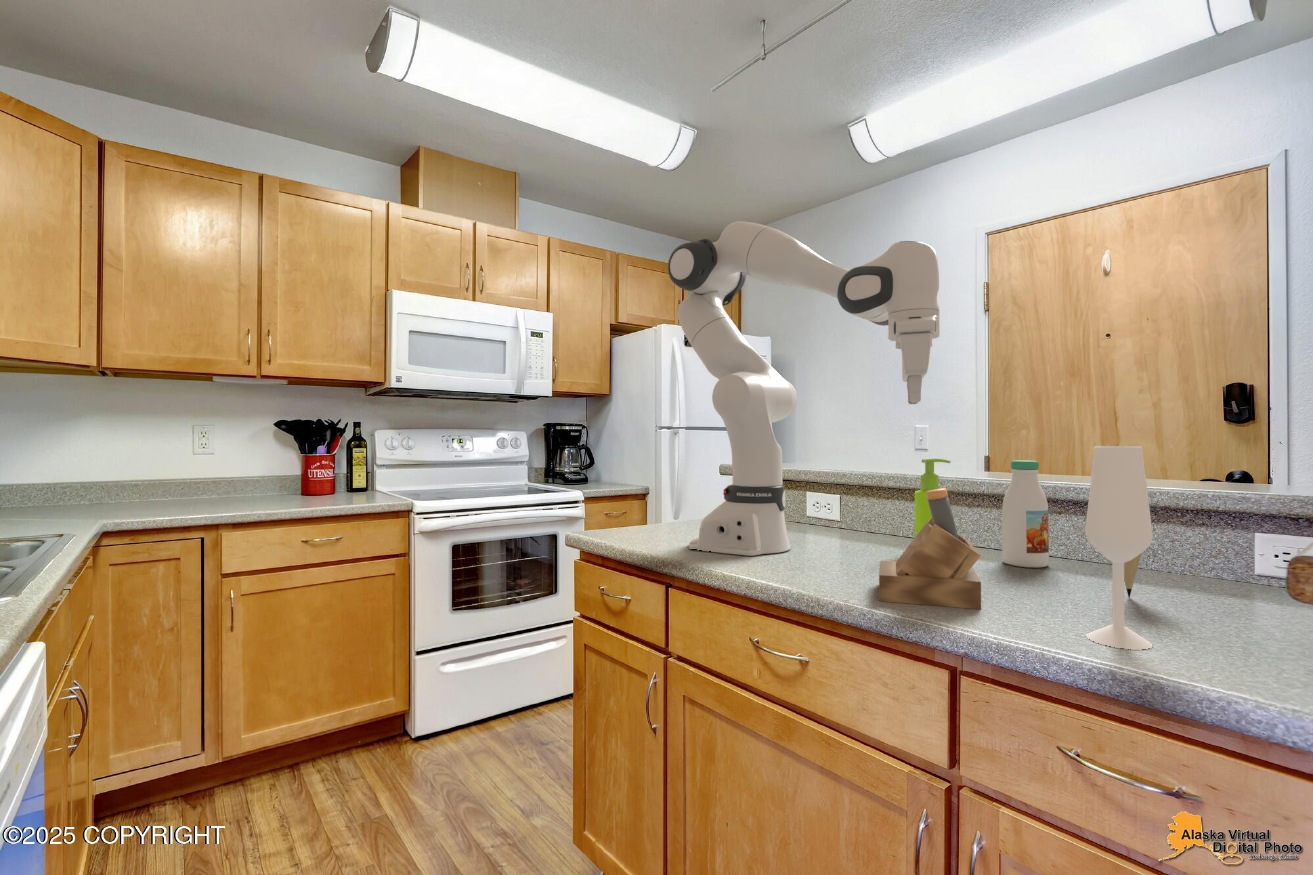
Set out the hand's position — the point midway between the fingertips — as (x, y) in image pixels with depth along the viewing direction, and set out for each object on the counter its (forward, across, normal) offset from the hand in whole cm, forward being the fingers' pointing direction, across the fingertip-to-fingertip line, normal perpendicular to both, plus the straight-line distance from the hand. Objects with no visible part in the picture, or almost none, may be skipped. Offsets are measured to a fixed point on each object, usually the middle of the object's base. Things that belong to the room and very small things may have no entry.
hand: (914, 403), depth 116 cm
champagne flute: (+31, +34, +22) cm, 51 cm away
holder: (+31, +19, +1) cm, 36 cm away
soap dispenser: (+31, -16, +4) cm, 35 cm away
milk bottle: (+31, -11, +20) cm, 39 cm away
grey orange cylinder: (+24, +19, +4) cm, 31 cm away
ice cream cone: (+31, +11, +30) cm, 45 cm away
